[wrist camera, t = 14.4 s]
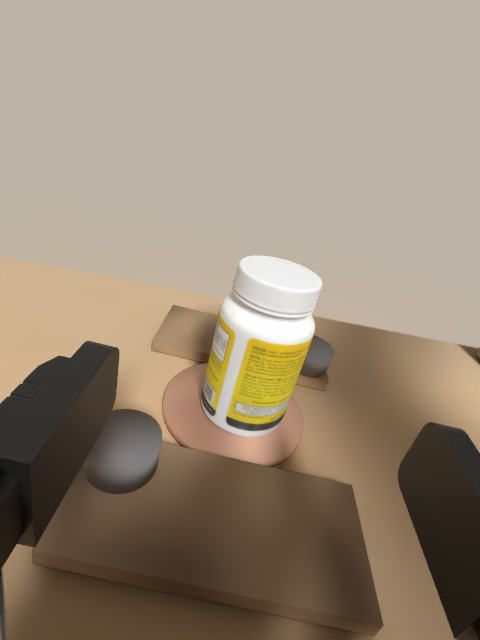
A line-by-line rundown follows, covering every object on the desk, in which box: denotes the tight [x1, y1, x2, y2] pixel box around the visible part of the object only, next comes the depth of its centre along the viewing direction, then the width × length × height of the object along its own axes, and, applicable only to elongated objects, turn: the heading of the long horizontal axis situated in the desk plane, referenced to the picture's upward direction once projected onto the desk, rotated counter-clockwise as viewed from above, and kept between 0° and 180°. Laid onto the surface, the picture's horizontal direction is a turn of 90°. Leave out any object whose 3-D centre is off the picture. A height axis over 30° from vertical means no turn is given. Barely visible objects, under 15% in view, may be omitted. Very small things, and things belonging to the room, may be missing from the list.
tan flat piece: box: [32, 305, 383, 636], centre depth 20 cm, size 12×19×2 cm, turn 175°
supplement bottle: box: [201, 256, 322, 437], centre depth 19 cm, size 5×5×8 cm
